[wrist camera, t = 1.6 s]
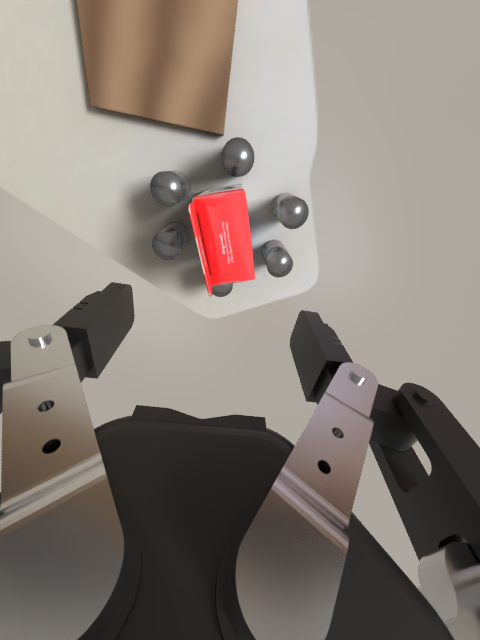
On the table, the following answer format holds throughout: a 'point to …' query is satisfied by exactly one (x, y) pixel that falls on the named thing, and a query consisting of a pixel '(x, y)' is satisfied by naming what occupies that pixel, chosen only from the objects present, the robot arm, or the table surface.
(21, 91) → the table surface
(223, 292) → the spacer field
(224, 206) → the ink box
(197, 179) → the table surface
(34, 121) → the table surface
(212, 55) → the walnut board
